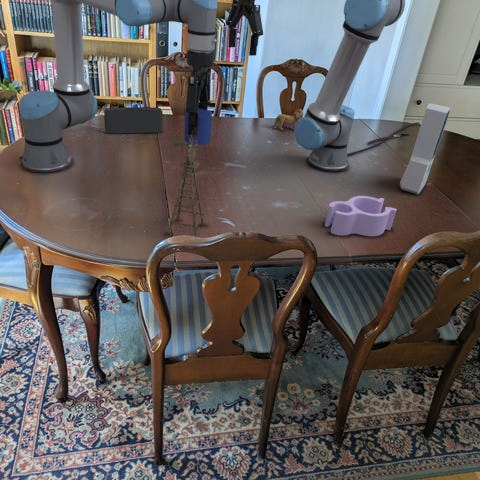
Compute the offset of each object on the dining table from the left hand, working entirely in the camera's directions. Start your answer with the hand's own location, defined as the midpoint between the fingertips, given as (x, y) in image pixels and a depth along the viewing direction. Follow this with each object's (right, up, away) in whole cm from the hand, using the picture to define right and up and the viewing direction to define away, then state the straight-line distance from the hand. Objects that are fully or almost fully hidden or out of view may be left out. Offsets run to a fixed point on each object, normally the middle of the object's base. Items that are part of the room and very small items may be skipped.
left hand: (197, 130), depth 140 cm
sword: (+81, +13, +73) cm, 110 cm away
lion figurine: (+34, +18, +73) cm, 82 cm away
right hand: (+13, +37, +33) cm, 52 cm away
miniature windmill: (-3, -30, -7) cm, 31 cm away
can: (0, -3, +2) cm, 3 cm away
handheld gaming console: (-31, +11, +52) cm, 61 cm away
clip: (+48, -29, +3) cm, 57 cm away
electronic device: (+76, -14, +31) cm, 83 cm away
